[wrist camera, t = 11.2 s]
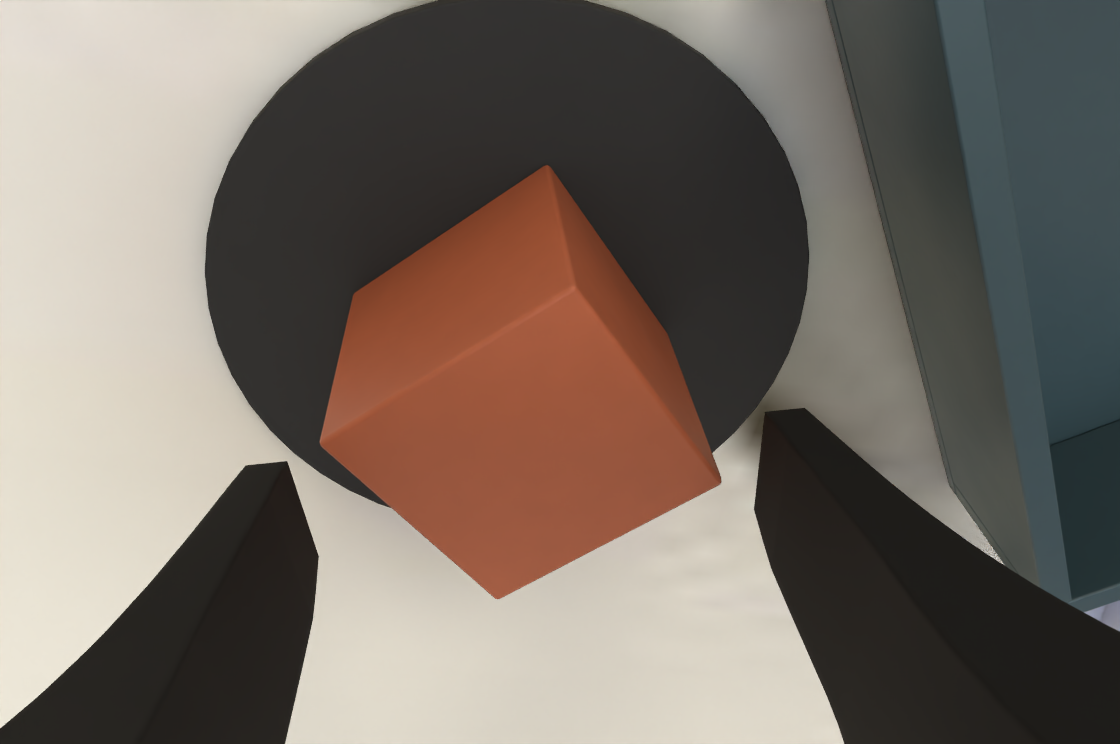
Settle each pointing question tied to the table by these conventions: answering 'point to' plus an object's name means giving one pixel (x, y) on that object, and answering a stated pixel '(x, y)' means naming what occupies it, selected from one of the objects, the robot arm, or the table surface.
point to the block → (515, 393)
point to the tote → (1007, 257)
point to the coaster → (490, 170)
